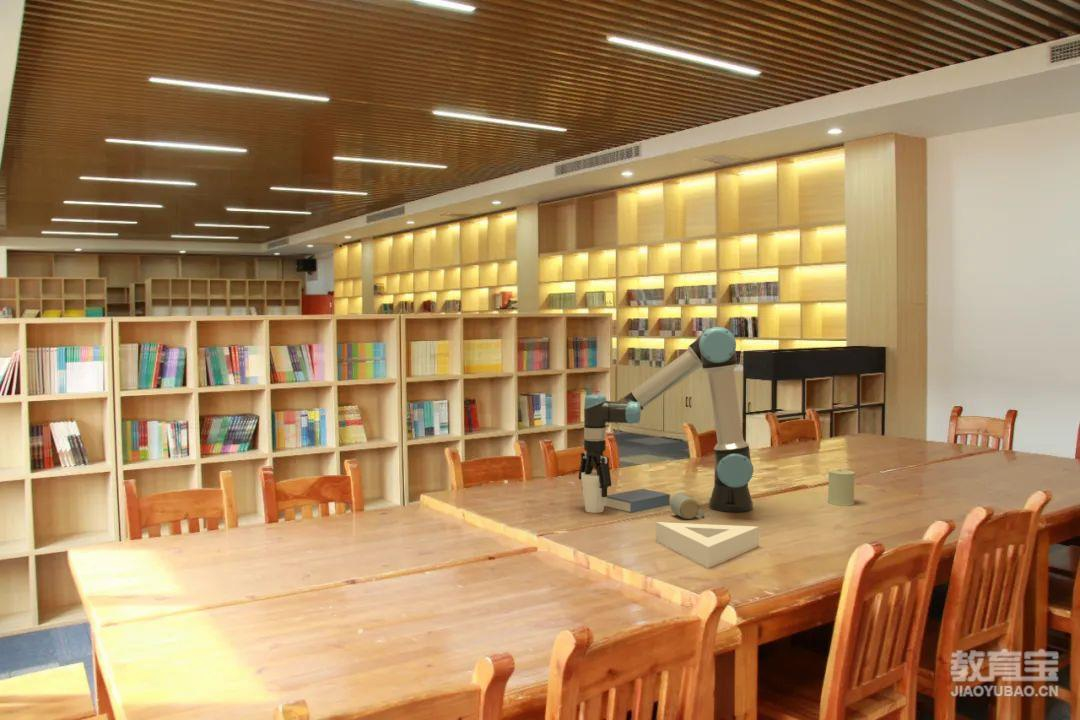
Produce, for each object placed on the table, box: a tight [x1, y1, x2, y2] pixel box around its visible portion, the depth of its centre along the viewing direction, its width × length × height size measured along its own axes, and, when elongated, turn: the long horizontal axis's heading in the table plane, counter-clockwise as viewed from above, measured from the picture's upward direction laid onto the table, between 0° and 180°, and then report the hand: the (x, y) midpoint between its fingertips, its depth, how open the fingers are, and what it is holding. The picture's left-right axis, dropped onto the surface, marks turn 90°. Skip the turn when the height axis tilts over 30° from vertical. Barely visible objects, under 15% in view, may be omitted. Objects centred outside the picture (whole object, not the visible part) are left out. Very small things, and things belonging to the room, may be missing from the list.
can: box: [827, 469, 856, 507], centre depth 307 cm, size 9×9×12 cm
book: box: [604, 488, 671, 514], centre depth 301 cm, size 13×20×4 cm, turn 131°
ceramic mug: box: [669, 492, 705, 520], centre depth 284 cm, size 11×8×8 cm
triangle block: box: [655, 521, 760, 569], centre depth 243 cm, size 30×26×6 cm
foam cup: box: [580, 470, 605, 514], centre depth 293 cm, size 10×9×13 cm
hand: (594, 503), depth 293 cm, fingers closed on foam cup, 9 cm apart
